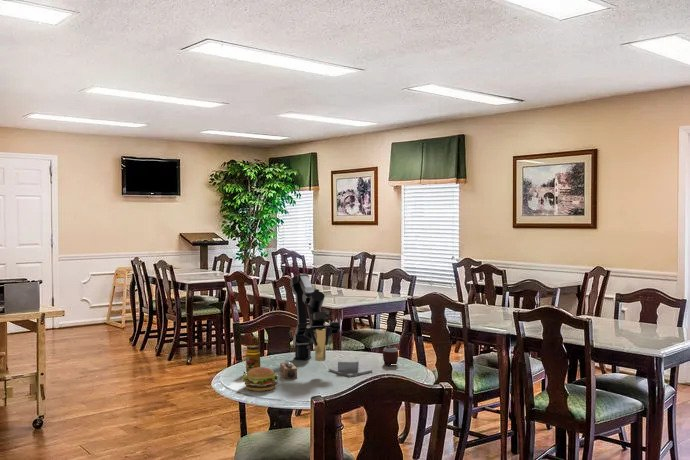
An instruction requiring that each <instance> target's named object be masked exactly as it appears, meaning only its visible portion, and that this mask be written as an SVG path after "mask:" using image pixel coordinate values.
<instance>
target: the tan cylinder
mask: <svg viewBox="0 0 690 460" xmlns="http://www.w3.org/2000/svg"><path fill="white" fill-rule="evenodd" d="M314 332H315V333H314V336H315V339H316V344H317V345H316V346H315V345H314V346H315V349H314V350H315V351H314V352H315V353H314V354H315V357H314V358H315V361H317V362H325V361H326V357H327V356H326V355H327V354H326V351H327V349H326V348H327V347H326V346H327V345H326V329H316V330H315V331H314Z"/></svg>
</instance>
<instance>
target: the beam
mask: <svg viewBox="0 0 690 460" xmlns="http://www.w3.org/2000/svg"><path fill="white" fill-rule="evenodd" d="M289 362H290V361H289ZM290 363H291V364H292V368H289V367H288V366H287V364H286V363H285V362H280V368H279V370H280V374H281V375H282V376H283V378H284V379H285V380H288V379H289V380H290V379H298V368H297V367H296V366H295V364H294V363H293V362H290Z"/></svg>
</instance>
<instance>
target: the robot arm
mask: <svg viewBox="0 0 690 460" xmlns="http://www.w3.org/2000/svg"><path fill="white" fill-rule="evenodd" d="M289 281H290V282H289V284H290V285H289V286H290V288H291V292H292V293H293V294H294V296H295V302H296V303H295V305H296V318H297V325H296V327H295V328H296V329H295V331H294V335H293V339H292V346H293V347H294V348H295V351H294V352H295V353H294V355H295V357H293V360H294V359H295V360H301V361H306V360H309V359H311V358H312V356H311V351H312V350H311V347H312V346H313V345H314V346H316V345H317V344H316V339H315V333H314V332H315V330H316V329H326V346H327V345H328V343H329V336H331V335H336V334H338V333H339V331H340V328H341V323H340V322H339V321H331V322H329V324H327V325H325V324H326V320H327V319H329V318H330V317H331V314H330V310H324V311H322V309H321V308H322V307H323V305H324V304H323V303H324V301H325V294H324V293H323V292H322V291H320V289H318V288H315V287H313V285H312V283H311V280H310V277H309V274H308V273H299V274H297V275H295V276H293V277H292V278H291V279H290V280H289ZM307 314H308V317H307ZM308 321H309V324H308Z"/></svg>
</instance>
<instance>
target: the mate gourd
mask: <svg viewBox="0 0 690 460" xmlns="http://www.w3.org/2000/svg"><path fill="white" fill-rule="evenodd" d="M383 332H384V334H385V336H386V340H387V345H388V346H385V347H384V348H383V351H382V360H383V365H384V364H388V365H387V367H391V366H392V365H391V364H397V365H398V360H399V351H398V348H397V347H396V346H392V345H390V339H389V336H388V333H387V332H386V331H385V330H383ZM390 365H391V366H390Z"/></svg>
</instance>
